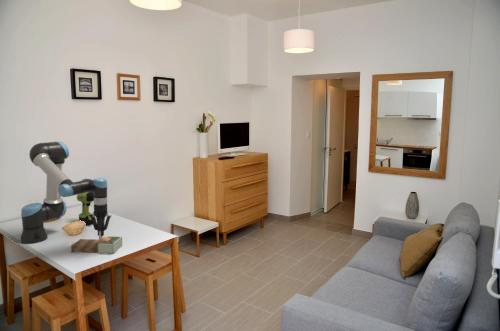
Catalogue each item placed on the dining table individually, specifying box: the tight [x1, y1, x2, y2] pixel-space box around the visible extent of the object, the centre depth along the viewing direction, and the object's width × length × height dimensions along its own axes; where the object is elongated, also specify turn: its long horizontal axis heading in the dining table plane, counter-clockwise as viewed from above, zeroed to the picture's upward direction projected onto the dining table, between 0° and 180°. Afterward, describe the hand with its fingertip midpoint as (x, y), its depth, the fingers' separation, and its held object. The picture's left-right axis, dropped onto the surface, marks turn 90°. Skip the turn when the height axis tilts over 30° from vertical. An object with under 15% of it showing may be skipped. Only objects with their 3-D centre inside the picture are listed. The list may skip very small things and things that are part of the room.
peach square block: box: [100, 236, 111, 244], centre depth 220 cm, size 5×5×3 cm
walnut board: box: [70, 238, 100, 254], centre depth 221 cm, size 17×11×4 cm, turn 87°
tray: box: [98, 235, 123, 255], centre depth 220 cm, size 9×13×6 cm
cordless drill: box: [76, 192, 94, 227], centre depth 264 cm, size 23×7×25 cm, turn 57°
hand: (100, 240), depth 219 cm, fingers closed
